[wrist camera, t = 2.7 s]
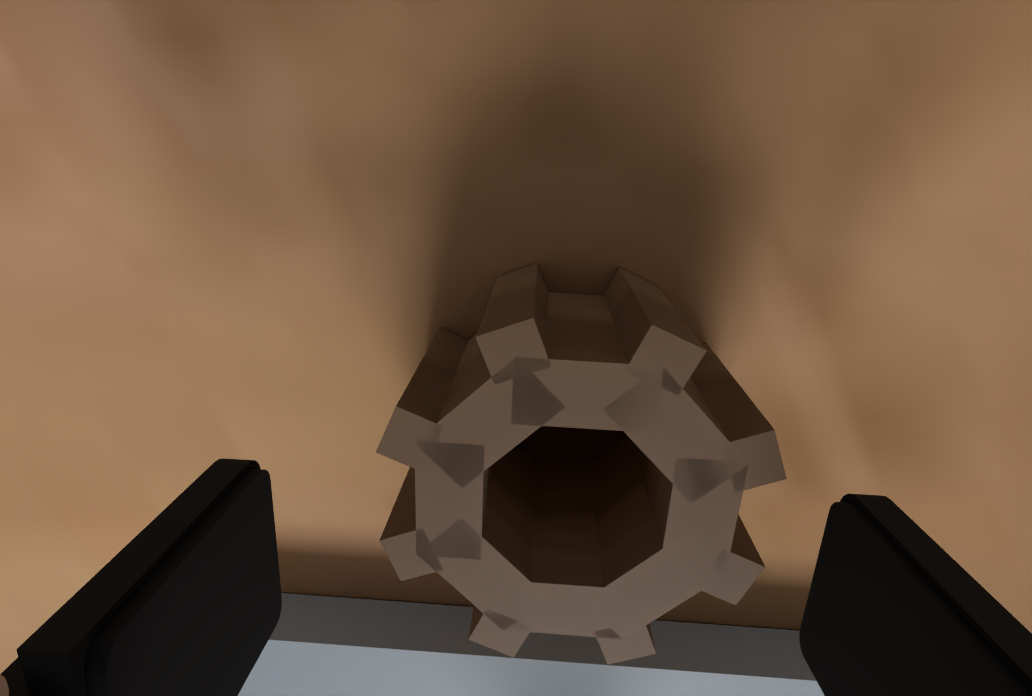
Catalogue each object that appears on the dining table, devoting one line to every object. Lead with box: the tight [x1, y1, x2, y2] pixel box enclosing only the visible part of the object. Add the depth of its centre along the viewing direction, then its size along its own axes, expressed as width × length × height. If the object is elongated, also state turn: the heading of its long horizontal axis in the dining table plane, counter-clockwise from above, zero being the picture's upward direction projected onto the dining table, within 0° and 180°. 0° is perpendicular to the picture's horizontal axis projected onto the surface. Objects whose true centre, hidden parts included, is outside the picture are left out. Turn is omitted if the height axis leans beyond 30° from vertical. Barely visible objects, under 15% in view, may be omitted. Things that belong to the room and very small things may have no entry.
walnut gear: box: [376, 263, 786, 665], centre depth 11 cm, size 6×6×4 cm
